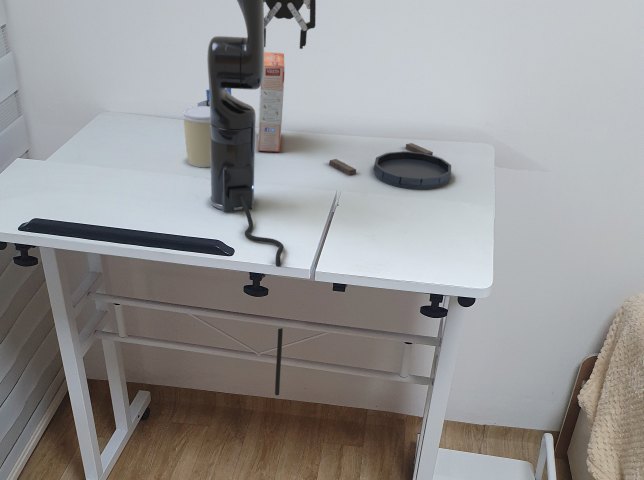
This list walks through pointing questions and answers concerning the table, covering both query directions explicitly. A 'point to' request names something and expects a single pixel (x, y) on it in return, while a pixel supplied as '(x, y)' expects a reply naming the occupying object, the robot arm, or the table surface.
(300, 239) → the table surface
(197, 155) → the coffee cup
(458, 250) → the table surface
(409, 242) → the table surface
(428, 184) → the plate
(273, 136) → the cracker box
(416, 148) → the walnut strips
